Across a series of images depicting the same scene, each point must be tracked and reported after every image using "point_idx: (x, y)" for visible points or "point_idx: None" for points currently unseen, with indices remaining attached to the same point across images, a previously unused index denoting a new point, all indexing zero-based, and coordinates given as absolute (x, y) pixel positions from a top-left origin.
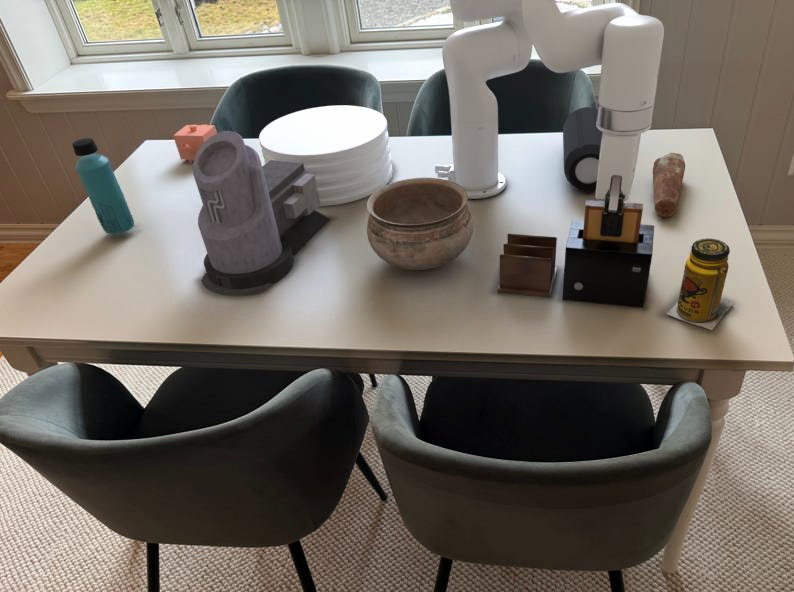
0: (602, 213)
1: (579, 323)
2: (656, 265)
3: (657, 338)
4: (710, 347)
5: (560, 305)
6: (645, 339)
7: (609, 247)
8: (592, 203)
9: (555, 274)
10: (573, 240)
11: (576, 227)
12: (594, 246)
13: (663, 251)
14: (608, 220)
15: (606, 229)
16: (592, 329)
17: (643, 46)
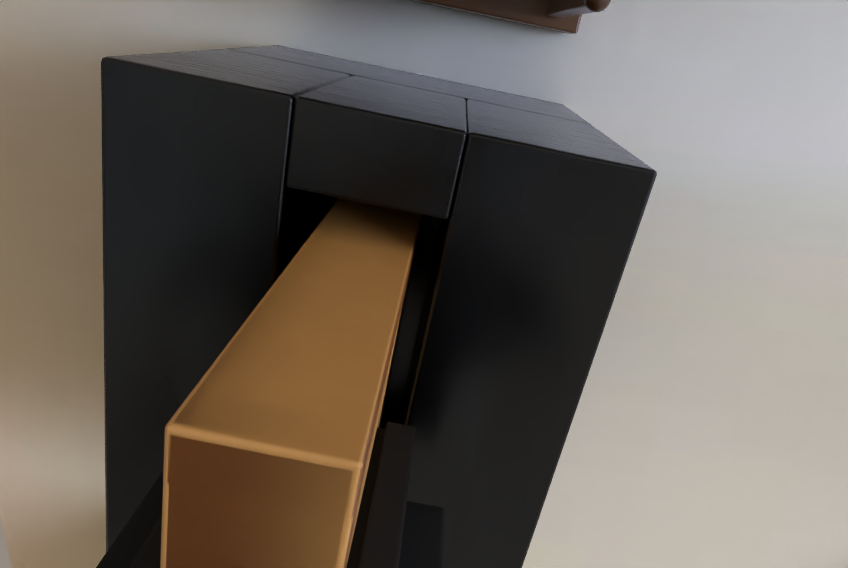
0: (136, 561)
1: (91, 120)
2: (564, 494)
3: (56, 410)
4: (45, 546)
5: (228, 32)
6: (39, 370)
7: (155, 415)
8: (241, 527)
9: (496, 17)
10: (237, 145)
11: (487, 196)
12: (153, 313)
13: (673, 537)
14: (110, 563)
15: (160, 478)
16: (58, 176)
17: None
